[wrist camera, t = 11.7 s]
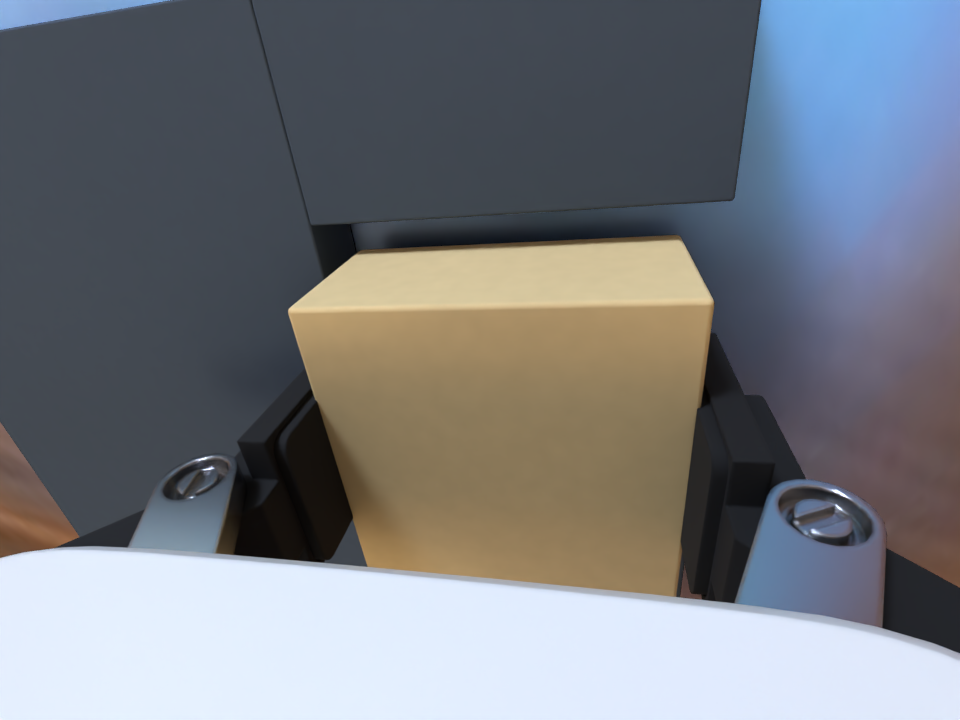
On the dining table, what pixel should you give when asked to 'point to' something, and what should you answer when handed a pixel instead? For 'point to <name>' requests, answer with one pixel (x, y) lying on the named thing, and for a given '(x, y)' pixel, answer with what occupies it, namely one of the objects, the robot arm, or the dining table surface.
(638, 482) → the pad
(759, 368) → the dining table surface
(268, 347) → the u-shaped block
